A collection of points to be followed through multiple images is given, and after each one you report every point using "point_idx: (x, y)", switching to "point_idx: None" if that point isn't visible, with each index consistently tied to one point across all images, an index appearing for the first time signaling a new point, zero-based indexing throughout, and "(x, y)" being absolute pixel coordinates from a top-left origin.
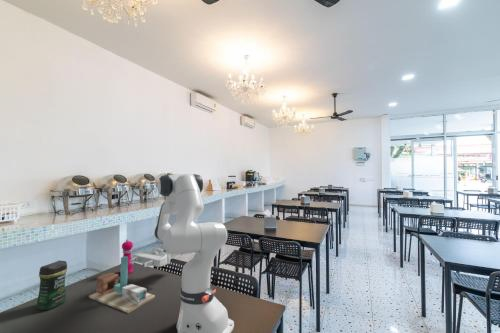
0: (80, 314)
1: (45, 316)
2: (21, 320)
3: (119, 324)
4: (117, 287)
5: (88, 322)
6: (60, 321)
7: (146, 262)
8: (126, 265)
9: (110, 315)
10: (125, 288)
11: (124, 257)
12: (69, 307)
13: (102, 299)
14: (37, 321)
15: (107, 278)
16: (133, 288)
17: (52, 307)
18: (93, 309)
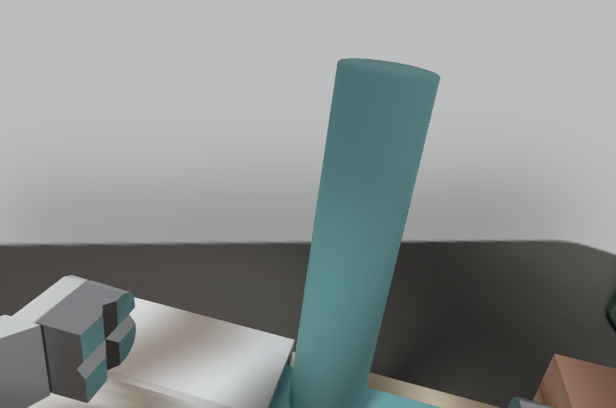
0: (409, 301)
1: (545, 285)
2: (592, 266)
3: (141, 259)
4: (383, 399)
5: (305, 264)
6: (435, 266)
7: (43, 310)
8: (322, 172)
9: (238, 303)
10: (249, 329)
11: (388, 69)
12: (548, 342)
13: (434, 397)
14: (525, 264)
15: (575, 385)
16: (166, 335)
17: (610, 317)
18: (390, 337)
